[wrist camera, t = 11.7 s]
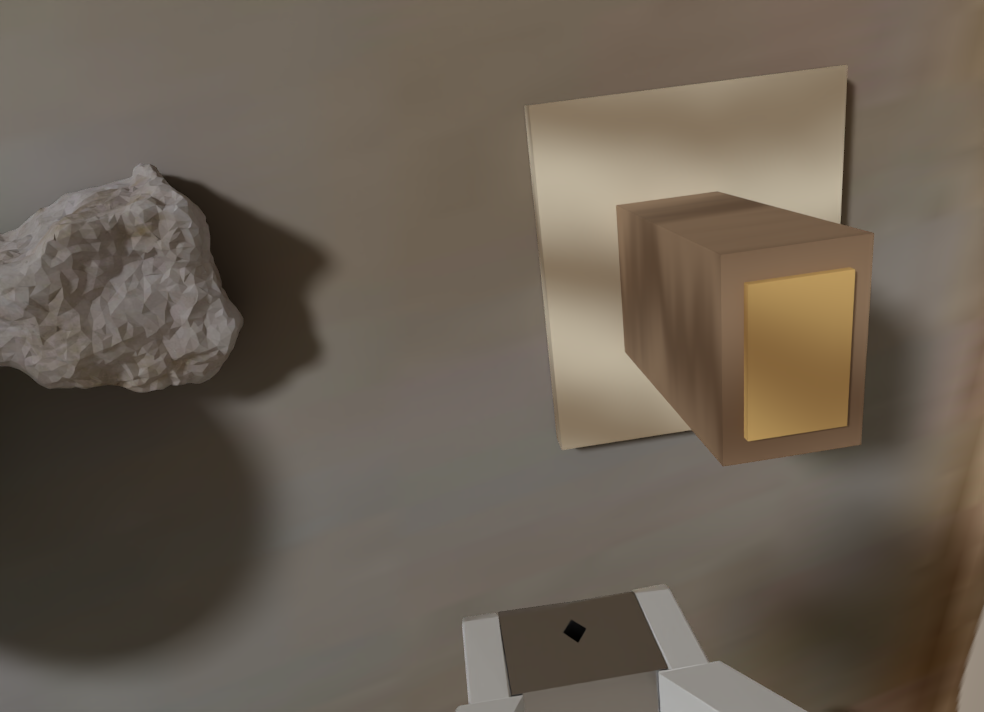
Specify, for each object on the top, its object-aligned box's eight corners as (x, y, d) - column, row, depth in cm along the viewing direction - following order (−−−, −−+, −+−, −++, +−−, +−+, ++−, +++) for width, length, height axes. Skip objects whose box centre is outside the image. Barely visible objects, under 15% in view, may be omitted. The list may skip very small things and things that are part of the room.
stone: (25, 394, 29) (-68, 461, 23) (-53, 192, 26) (-179, 213, 20) (269, 355, 29) (234, 411, 24) (217, 153, 26) (164, 163, 21)
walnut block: (615, 205, 27) (724, 256, 18) (717, 191, 27) (880, 234, 18) (624, 352, 29) (726, 470, 20) (719, 338, 29) (866, 448, 20)
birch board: (524, 105, 27) (528, 105, 26) (829, 66, 27) (847, 64, 26) (556, 437, 31) (562, 449, 30) (817, 397, 32) (831, 408, 31)
